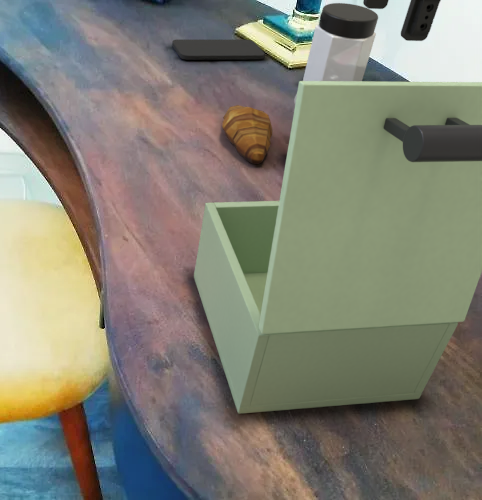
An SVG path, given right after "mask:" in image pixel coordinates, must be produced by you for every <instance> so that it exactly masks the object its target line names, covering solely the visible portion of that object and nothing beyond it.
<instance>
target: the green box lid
mask: <svg viewBox="0 0 482 500" xmlns="http://www.w3.org/2000/svg"><path fill="white" fill-rule="evenodd" d="M296 94H297V98H296V104H295V103H294V110H293V115H292V123H291V129H290V134H289V141H288V146H287V153H286V159H285V165H284V169H283V170H284V171H283V178H282V182H281V189H280V193H279V194H280V195H279V200H278V201H279V206H278V212H277V219H276V225H275V231H274V237H273V243H272V249H271V255H270V261H269V267H268V273H267V279H266V285H265V291H264V297H263V303H262V309H261V315H260V321H259V330H260V331H261V333H262V334H270V333H287V332H303V331H319V330H335V329H351V328H368V327H384V326H400V325H416V324H433V323H449V322H458V323H462V322H463V323H464V322H465V320H466V317H467V315H468V311H469V309H470V306H471V303H472V301H473V298H474V295H475V292H476V289H477V286H478V283H479V281H480V277H481V275H482V81H371V80H370V81H369V80H367V81H366V80H365V81H363V80H362V81H303V80H299V81H298V85H297V92H296Z"/></svg>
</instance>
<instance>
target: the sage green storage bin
mask: <svg viewBox="0 0 482 500" xmlns="http://www.w3.org/2000/svg"><path fill="white" fill-rule="evenodd" d="M278 206H279V200H260V201H258V200H257V201H222V202H221V201H220V202H216V201H215V202H205V204H204V210H203V216H202V222H201V228H200V235H199V242H198V247H197V253H196V254H197V255H196V260H195V267H194V272H193V279H194V282H195V285H196V288H197V291H198V293H199V297H200V300H201V303H202V306H203V310H204V313H205V316H206V319H207V322H208V325H209V328H210V331H211V335H212V337H213V340H214V343H215V346H216V350H217V353H218V355H219V359H220V362H221V365H222V369H223V371H224V375H225V378H226V380H227V383H228V387H229V390H230V394H231V396H232V399H233V403H234V405H235V409H236V411H237V414H238V415H241V414H251V413H263V412H274V411H275V412H277V411H289V410H299V409H313V408H314V409H315V408H323V407H326V408H327V407H335V406H336V407H337V406H347V405H348V406H350V405H360V404H371V403H373V404H375V403H386V402H398V401H409V400H410V401H411V400H419V399H420V398H421V396H422V394H423V392H424V390H425V388H426V386H427V384H428V382H429V381H430V378H431V377H432V374H433V373H434V371H435V369H436V367H437V366H438V363H439V361H440V360H441V358H442V356H443V354H444V352H445V350H446V348H447V346H448V344H449V342H450V340H451V338H452V337H453V335H454V332H455V331H456V329H457V327H458V325H459V322H449V323H433V324H416V325H400V326H384V327H368V328H351V329H335V330H319V331H303V332H287V333H270V334H262V333H261V331H260V330H259V321H260V315H261V309H262V303H263V297H264V291H265V285H266V279H267V273H268V267H269V261H270V255H271V249H272V243H273V237H274V231H275V225H276V219H277V212H278Z"/></svg>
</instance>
